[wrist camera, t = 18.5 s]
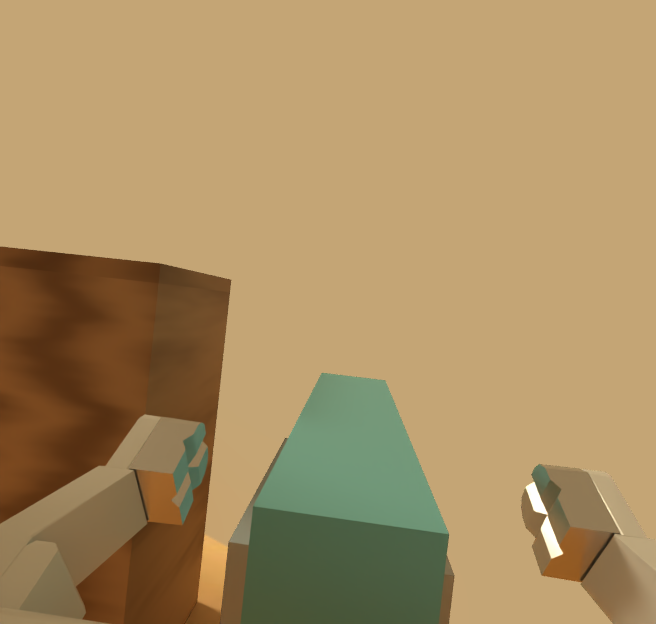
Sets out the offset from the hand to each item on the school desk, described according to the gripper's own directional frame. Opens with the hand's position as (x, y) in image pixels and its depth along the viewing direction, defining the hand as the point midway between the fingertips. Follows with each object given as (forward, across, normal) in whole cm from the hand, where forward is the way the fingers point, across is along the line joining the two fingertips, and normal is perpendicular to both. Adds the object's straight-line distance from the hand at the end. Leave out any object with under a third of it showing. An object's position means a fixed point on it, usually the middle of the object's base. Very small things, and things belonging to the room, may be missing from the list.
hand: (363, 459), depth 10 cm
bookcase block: (+4, +15, +26) cm, 31 cm away
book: (+6, 0, +9) cm, 10 cm away
